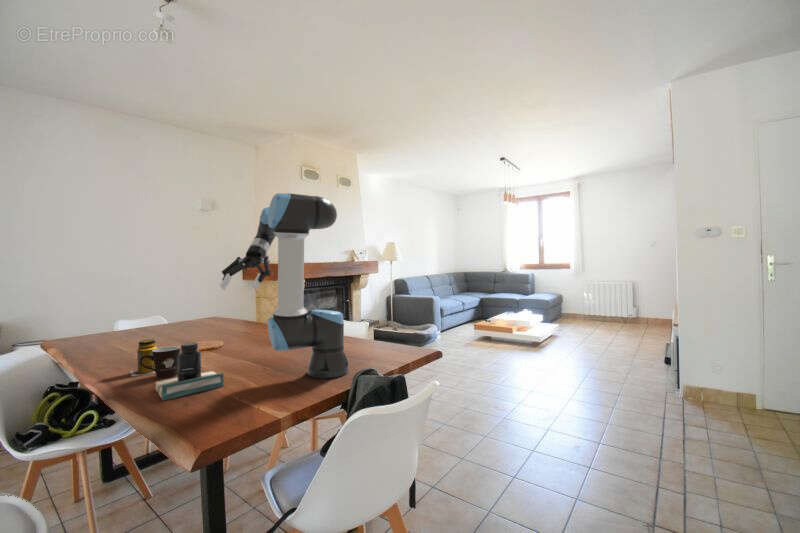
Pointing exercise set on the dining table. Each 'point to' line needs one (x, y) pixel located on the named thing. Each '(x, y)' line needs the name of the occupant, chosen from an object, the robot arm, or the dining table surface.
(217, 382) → the teal and cream book
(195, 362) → the supplement bottle
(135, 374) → the condiment
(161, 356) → the coffee mug
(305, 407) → the dining table surface
